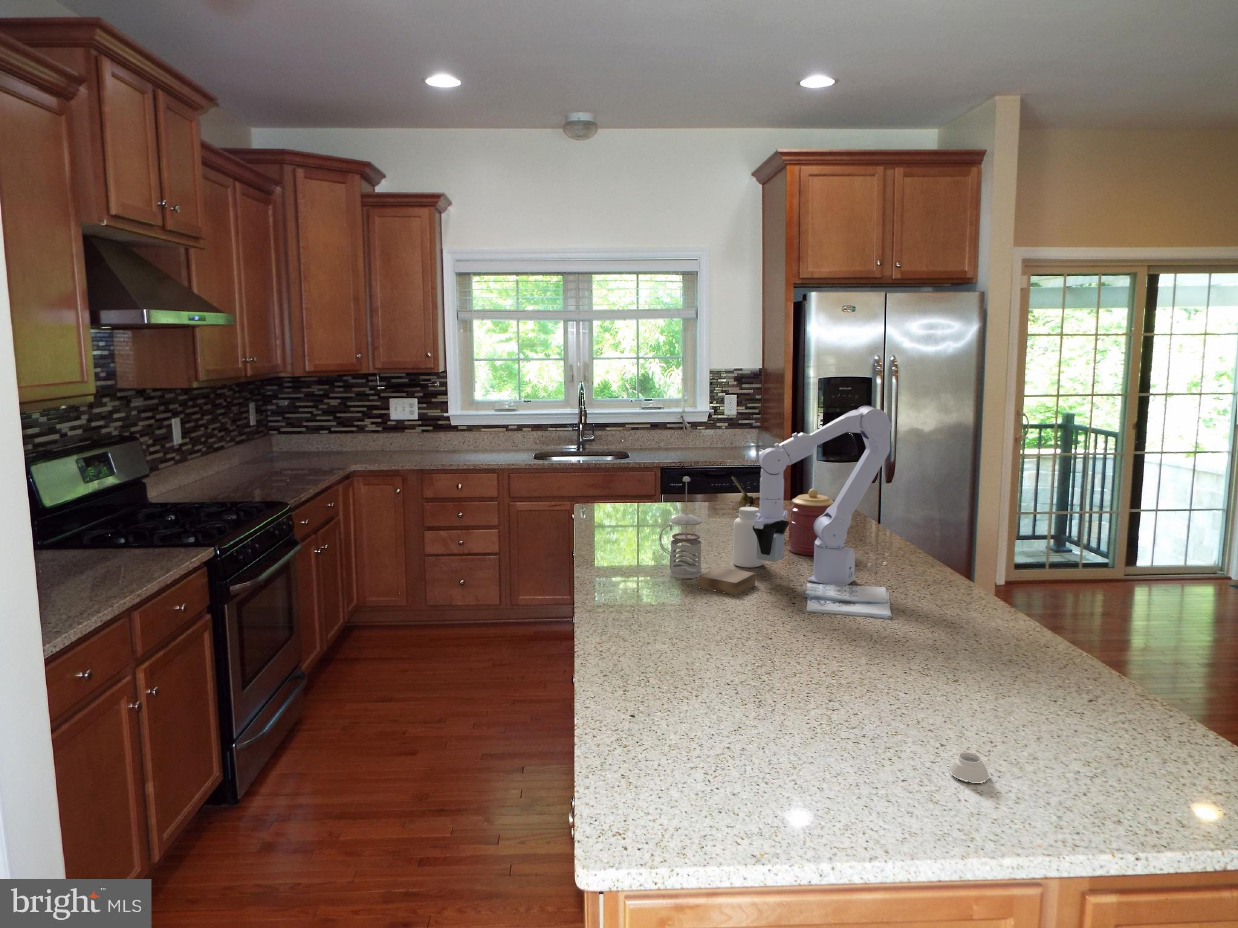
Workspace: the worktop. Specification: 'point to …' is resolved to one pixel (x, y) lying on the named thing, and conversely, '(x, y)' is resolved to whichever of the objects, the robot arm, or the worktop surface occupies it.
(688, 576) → the french press
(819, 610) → the white bicycle print cloth
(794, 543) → the canister
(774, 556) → the slate cube
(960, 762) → the upturned beige bowl
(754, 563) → the pill bottle
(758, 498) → the brass mortar and pestle
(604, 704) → the worktop surface
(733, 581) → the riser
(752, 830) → the worktop surface
